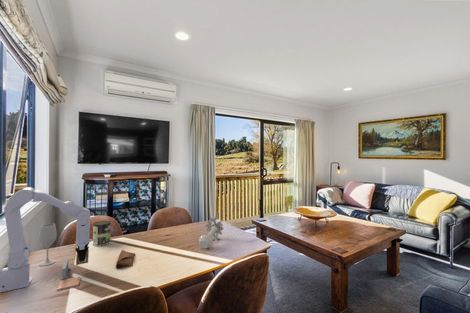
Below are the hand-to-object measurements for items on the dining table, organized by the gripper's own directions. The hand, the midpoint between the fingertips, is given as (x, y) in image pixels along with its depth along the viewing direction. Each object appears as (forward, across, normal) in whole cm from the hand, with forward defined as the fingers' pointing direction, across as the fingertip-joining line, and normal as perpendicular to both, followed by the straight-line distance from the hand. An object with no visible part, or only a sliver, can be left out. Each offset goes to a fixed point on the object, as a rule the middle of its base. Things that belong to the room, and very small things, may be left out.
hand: (82, 258), depth 114 cm
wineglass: (+7, +20, +17) cm, 27 cm away
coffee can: (+7, +38, -9) cm, 40 cm away
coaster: (+6, -10, +4) cm, 13 cm away
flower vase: (+6, +2, -74) cm, 74 cm away
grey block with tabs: (+6, 0, +7) cm, 9 cm away
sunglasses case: (+7, +2, -21) cm, 22 cm away
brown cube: (+2, 0, 0) cm, 2 cm away
